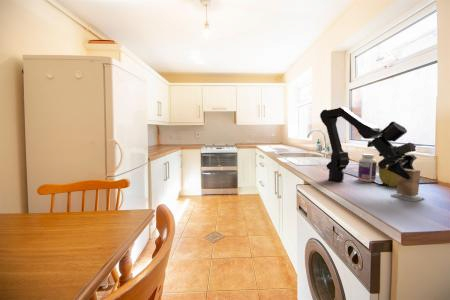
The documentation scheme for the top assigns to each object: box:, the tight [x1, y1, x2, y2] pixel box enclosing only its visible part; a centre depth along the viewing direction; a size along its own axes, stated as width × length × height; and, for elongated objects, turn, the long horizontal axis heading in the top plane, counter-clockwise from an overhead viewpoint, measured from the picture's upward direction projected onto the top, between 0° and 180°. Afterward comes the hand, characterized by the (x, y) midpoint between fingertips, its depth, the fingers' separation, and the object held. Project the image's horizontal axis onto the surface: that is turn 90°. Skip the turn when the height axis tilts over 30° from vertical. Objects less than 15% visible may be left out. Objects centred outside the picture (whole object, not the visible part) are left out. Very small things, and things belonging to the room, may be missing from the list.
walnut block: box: [396, 168, 421, 196], centre depth 90 cm, size 5×5×10 cm
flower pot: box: [378, 165, 399, 187], centre depth 111 cm, size 9×9×9 cm
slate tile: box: [390, 192, 425, 203], centre depth 91 cm, size 8×8×1 cm
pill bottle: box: [357, 153, 378, 183], centre depth 120 cm, size 8×8×14 cm
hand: (412, 178), depth 89 cm, fingers open, 5 cm apart
